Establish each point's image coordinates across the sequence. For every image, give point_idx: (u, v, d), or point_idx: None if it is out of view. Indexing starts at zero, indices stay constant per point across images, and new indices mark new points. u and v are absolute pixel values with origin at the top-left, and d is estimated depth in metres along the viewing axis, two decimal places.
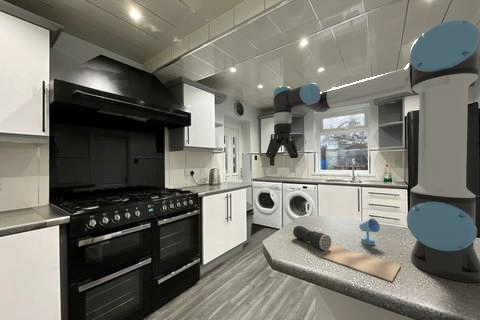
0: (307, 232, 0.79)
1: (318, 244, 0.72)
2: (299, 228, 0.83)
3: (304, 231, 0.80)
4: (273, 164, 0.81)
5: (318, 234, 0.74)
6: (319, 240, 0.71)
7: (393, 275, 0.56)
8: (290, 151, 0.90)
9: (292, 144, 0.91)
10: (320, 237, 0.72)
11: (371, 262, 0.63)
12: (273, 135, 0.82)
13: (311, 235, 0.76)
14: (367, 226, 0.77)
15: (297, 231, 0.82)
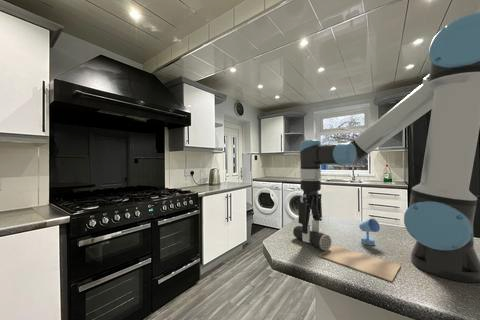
0: None
1: (318, 244, 0.72)
2: (299, 228, 0.83)
3: None
4: (306, 232, 0.75)
5: (318, 234, 0.74)
6: (319, 240, 0.71)
7: (393, 275, 0.56)
8: (315, 211, 0.80)
9: (318, 202, 0.82)
10: (320, 237, 0.72)
11: (371, 262, 0.63)
12: (302, 199, 0.74)
13: (311, 235, 0.76)
14: (367, 226, 0.77)
15: (297, 231, 0.82)
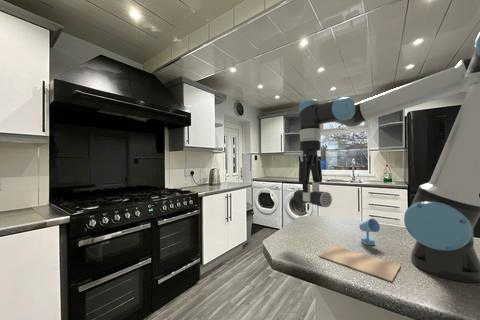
0: None
1: (319, 201, 0.72)
2: (299, 191, 0.83)
3: None
4: (307, 191, 0.75)
5: (318, 192, 0.74)
6: (319, 197, 0.72)
7: (393, 275, 0.56)
8: (315, 173, 0.80)
9: (318, 165, 0.82)
10: (320, 194, 0.72)
11: (371, 262, 0.63)
12: (302, 158, 0.74)
13: (311, 194, 0.76)
14: (367, 226, 0.77)
15: (297, 194, 0.82)
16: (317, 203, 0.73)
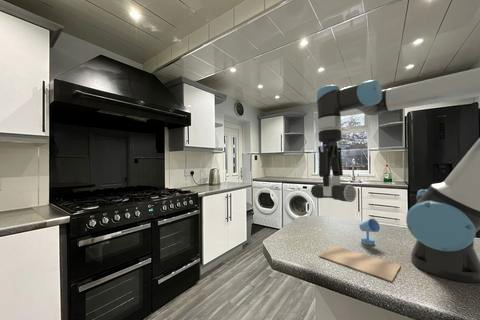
0: None
1: (342, 195, 0.65)
2: (318, 186, 0.76)
3: None
4: (328, 185, 0.68)
5: (341, 185, 0.67)
6: (343, 190, 0.65)
7: (393, 275, 0.56)
8: (335, 165, 0.74)
9: (338, 157, 0.75)
10: (344, 187, 0.65)
11: (371, 262, 0.63)
12: (322, 148, 0.68)
13: (333, 188, 0.69)
14: (367, 226, 0.77)
15: (316, 189, 0.76)
16: (340, 197, 0.66)
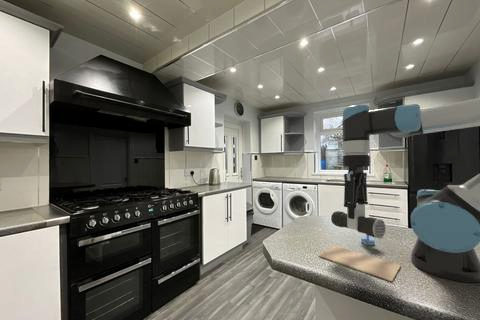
0: None
1: (371, 231, 0.58)
2: (339, 214, 0.69)
3: None
4: (353, 217, 0.61)
5: (369, 219, 0.60)
6: (372, 226, 0.58)
7: (393, 275, 0.56)
8: (360, 193, 0.67)
9: None
10: (373, 222, 0.58)
11: (371, 262, 0.63)
12: (349, 177, 0.60)
13: (359, 220, 0.62)
14: None
15: (337, 217, 0.69)
16: (368, 233, 0.59)
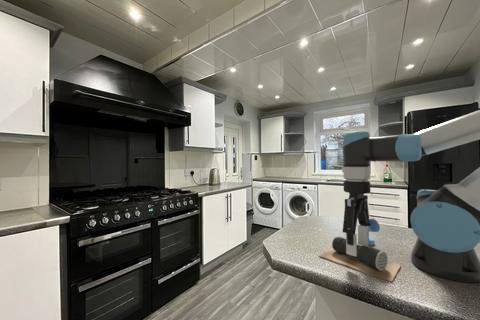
0: None
1: (373, 263, 0.58)
2: (341, 240, 0.69)
3: None
4: (352, 243, 0.60)
5: (371, 250, 0.60)
6: (375, 258, 0.58)
7: (393, 275, 0.56)
8: (362, 216, 0.67)
9: None
10: (376, 255, 0.58)
11: None
12: (349, 202, 0.60)
13: (361, 251, 0.62)
14: (367, 226, 0.77)
15: (339, 244, 0.68)
16: (370, 264, 0.59)
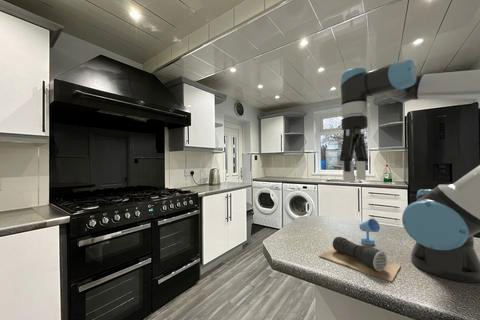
0: (353, 246, 0.65)
1: (371, 263, 0.58)
2: (341, 240, 0.69)
3: (348, 244, 0.66)
4: (349, 170, 0.61)
5: (370, 250, 0.60)
6: (373, 259, 0.57)
7: (393, 275, 0.56)
8: (360, 152, 0.70)
9: None
10: (374, 255, 0.58)
11: None
12: (348, 131, 0.62)
13: (360, 251, 0.62)
14: (367, 226, 0.77)
15: (339, 244, 0.68)
16: (368, 265, 0.59)
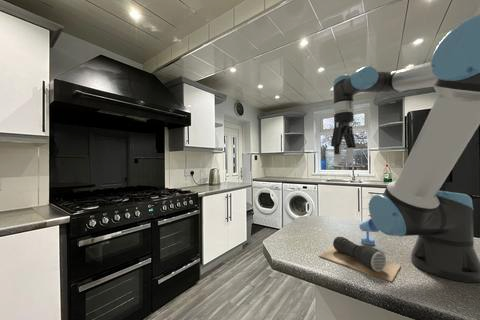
0: (352, 246, 0.65)
1: (369, 263, 0.58)
2: (341, 240, 0.69)
3: (348, 244, 0.66)
4: (338, 152, 0.81)
5: (368, 251, 0.60)
6: (370, 259, 0.57)
7: (393, 275, 0.56)
8: (349, 141, 0.90)
9: (350, 134, 0.91)
10: (372, 255, 0.58)
11: None
12: (337, 124, 0.82)
13: (358, 251, 0.62)
14: (367, 226, 0.77)
15: (339, 243, 0.69)
16: (366, 265, 0.59)
